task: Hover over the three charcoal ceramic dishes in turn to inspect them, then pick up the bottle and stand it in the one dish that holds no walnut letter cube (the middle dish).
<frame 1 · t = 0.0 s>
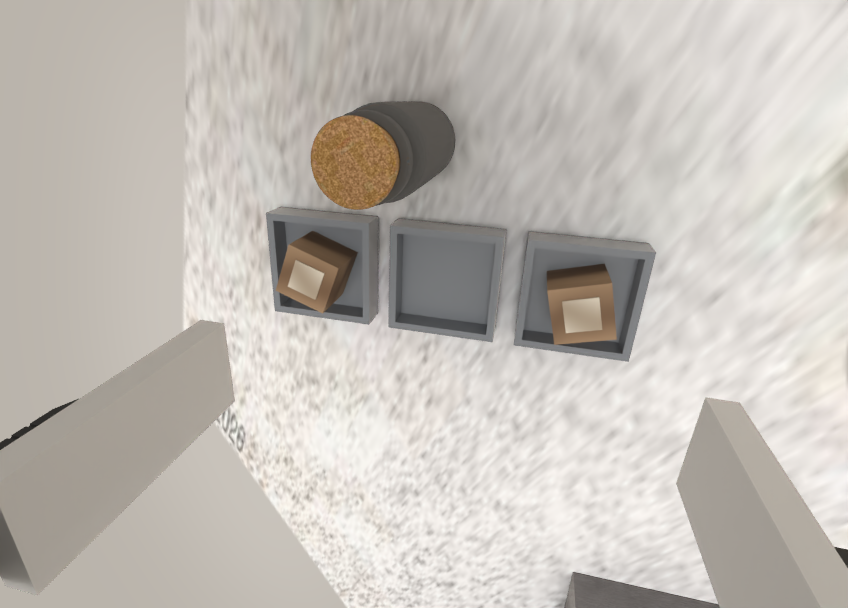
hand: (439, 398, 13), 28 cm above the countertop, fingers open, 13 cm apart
cube c: (328, 262, 43), resting on dish c
bottle: (420, 141, 38), on the countertop
dish c: (330, 261, 44), on the countertop
cube a: (577, 293, 39), resting on dish a
dish b: (447, 275, 42), on the countertop
dish a: (577, 290, 40), on the countertop
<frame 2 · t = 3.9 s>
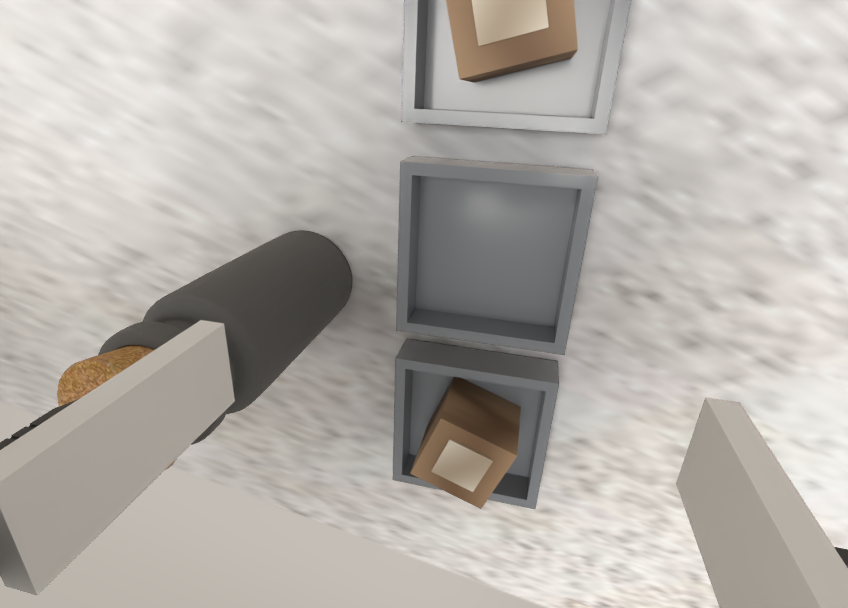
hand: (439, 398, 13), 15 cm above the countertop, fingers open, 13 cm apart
cube c: (472, 416, 30), resting on dish c
bottle: (310, 274, 30), on the countertop
dish c: (473, 411, 31), on the countertop
cube a: (514, 16, 21), resting on dish a
dish b: (490, 248, 26), on the countertop
dish a: (514, 18, 22), on the countertop
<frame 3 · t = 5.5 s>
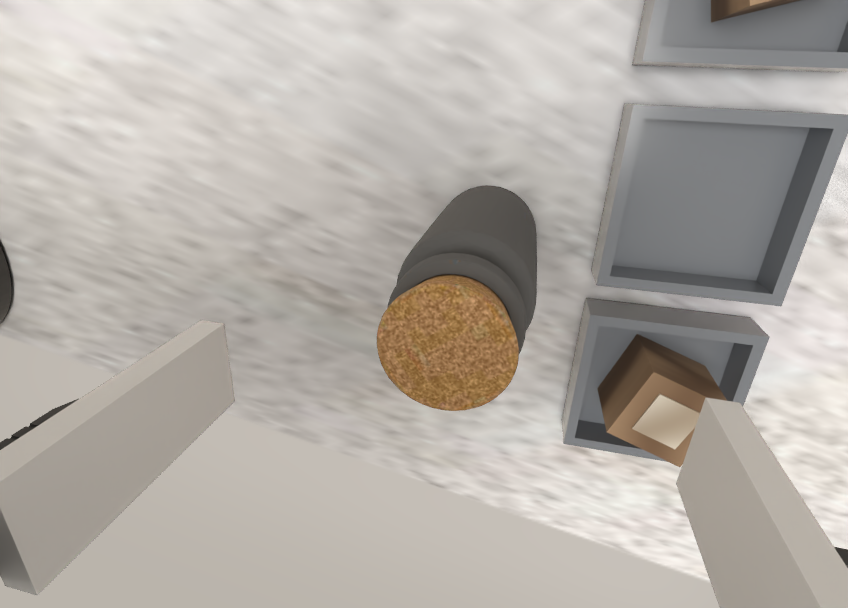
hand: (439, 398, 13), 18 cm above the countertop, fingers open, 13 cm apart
cube c: (649, 377, 30), resting on dish c
bottle: (487, 232, 29), on the countertop
dish c: (647, 373, 30), on the countertop
dish b: (695, 199, 26), on the countertop
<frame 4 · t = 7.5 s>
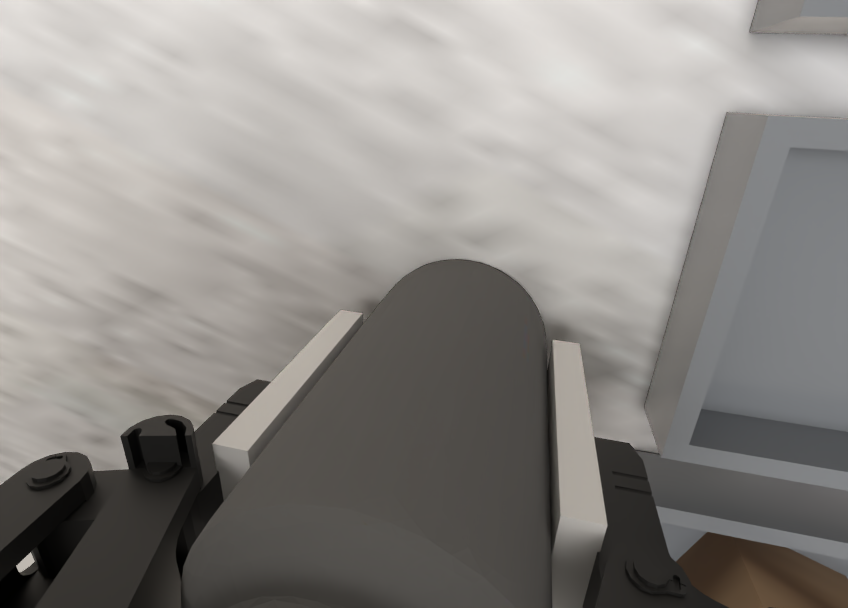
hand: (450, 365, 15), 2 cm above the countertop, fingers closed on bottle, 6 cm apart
cube c: (740, 582, 17), resting on dish c
bottle: (460, 335, 17), on the countertop, touching gripper
dish c: (735, 570, 18), on the countertop
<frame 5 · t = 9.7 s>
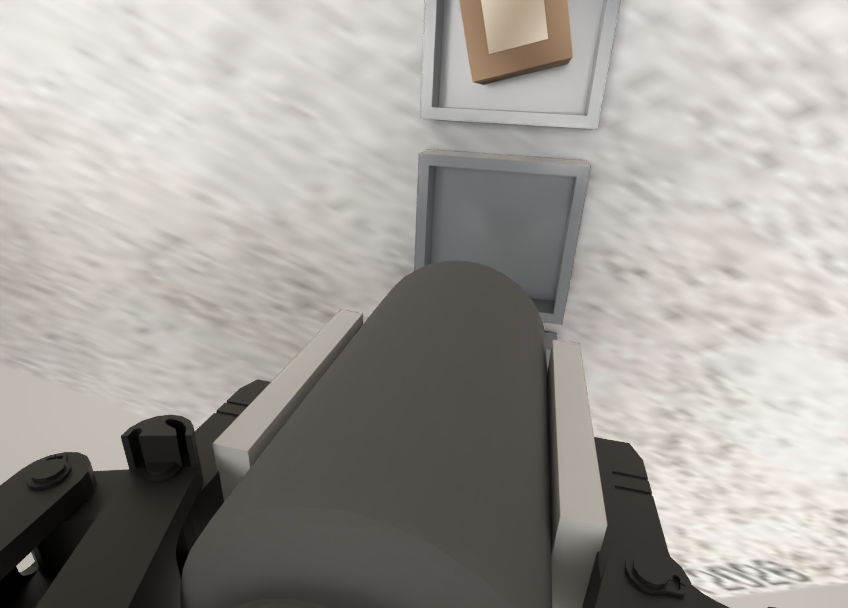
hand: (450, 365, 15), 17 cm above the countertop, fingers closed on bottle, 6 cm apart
bottle: (460, 336, 17), point 15 cm above the countertop, touching gripper
cube a: (518, 27, 25), resting on dish a
dish b: (496, 231, 30), on the countertop
dish a: (518, 29, 25), on the countertop
when the fingers open (4 cm above the countertop, at t = 12.2 s): bottle drops 2 cm, resting on dish b.
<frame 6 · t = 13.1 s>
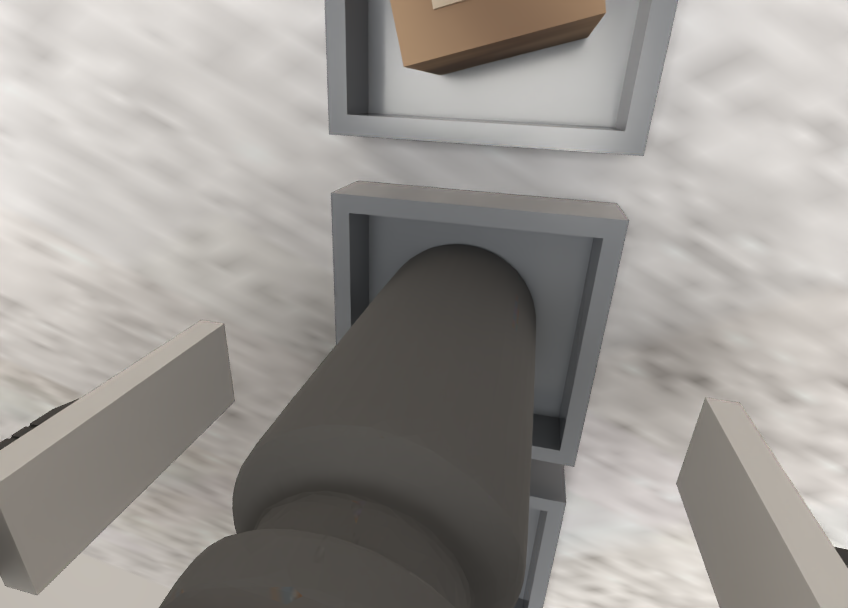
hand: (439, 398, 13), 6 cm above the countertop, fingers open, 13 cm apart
bottle: (459, 313, 19), resting on dish b
dish c: (450, 514, 23), on the countertop
dish b: (469, 309, 19), on the countertop
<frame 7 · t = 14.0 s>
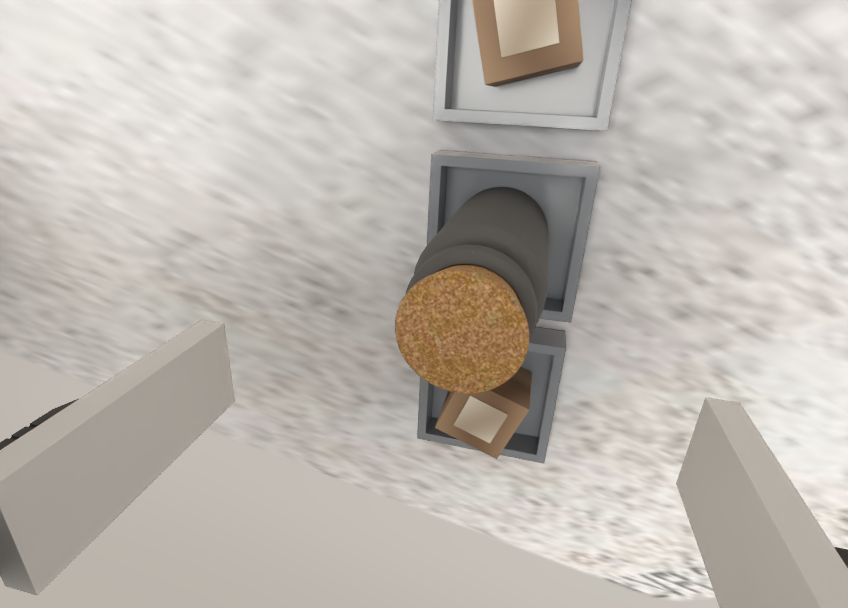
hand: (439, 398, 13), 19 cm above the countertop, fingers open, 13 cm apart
cube c: (488, 381, 34), resting on dish c
bottle: (500, 232, 30), resting on dish b
dish c: (489, 378, 35), on the countertop
cube a: (530, 31, 25), resting on dish a
dish b: (506, 230, 30), on the countertop
dish a: (530, 32, 26), on the countertop
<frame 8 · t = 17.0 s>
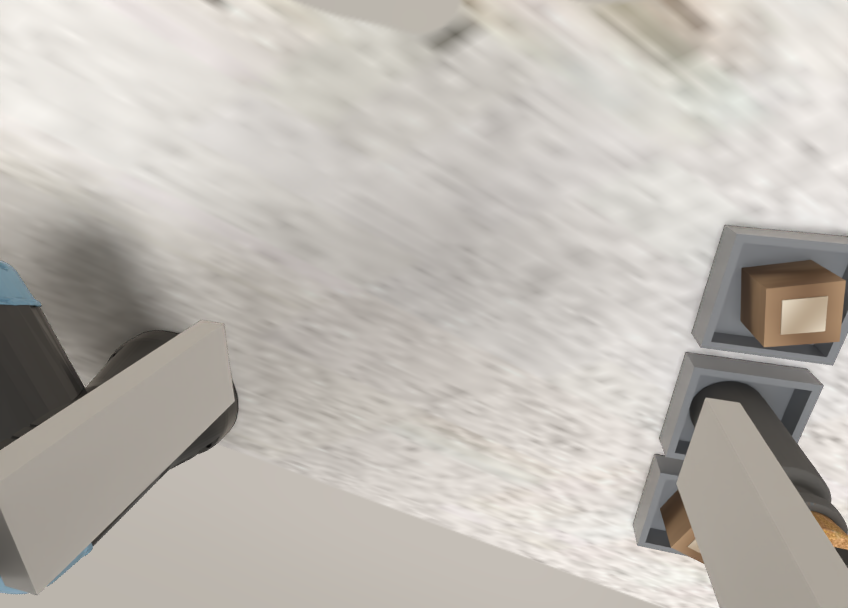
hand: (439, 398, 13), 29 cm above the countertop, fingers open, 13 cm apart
cube c: (695, 504, 45), resting on dish c
bottle: (725, 408, 41), resting on dish b
dish c: (693, 500, 46), on the countertop
cube a: (774, 291, 37), resting on dish a
dish b: (728, 406, 41), on the countertop
dish a: (771, 289, 37), on the countertop
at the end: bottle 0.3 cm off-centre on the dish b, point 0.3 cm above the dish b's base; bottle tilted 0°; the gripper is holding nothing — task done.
